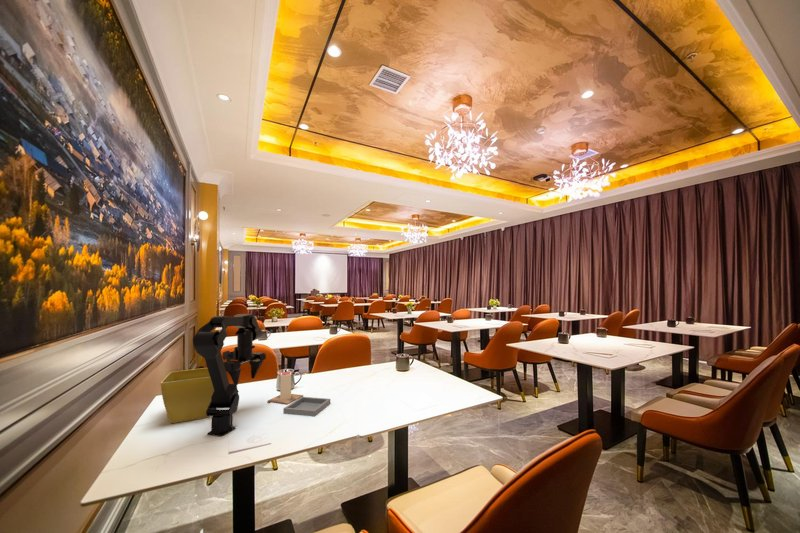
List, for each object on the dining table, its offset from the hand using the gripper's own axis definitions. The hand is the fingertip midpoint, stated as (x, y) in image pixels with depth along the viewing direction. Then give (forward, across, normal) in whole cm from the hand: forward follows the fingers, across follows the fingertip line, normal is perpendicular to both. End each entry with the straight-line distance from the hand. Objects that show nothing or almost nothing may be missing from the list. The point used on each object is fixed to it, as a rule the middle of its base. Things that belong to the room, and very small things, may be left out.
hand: (244, 381), depth 128 cm
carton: (+12, -17, +7) cm, 22 cm away
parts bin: (+13, -10, +23) cm, 29 cm away
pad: (+13, -18, +7) cm, 23 cm away
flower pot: (+13, +7, -20) cm, 25 cm away
